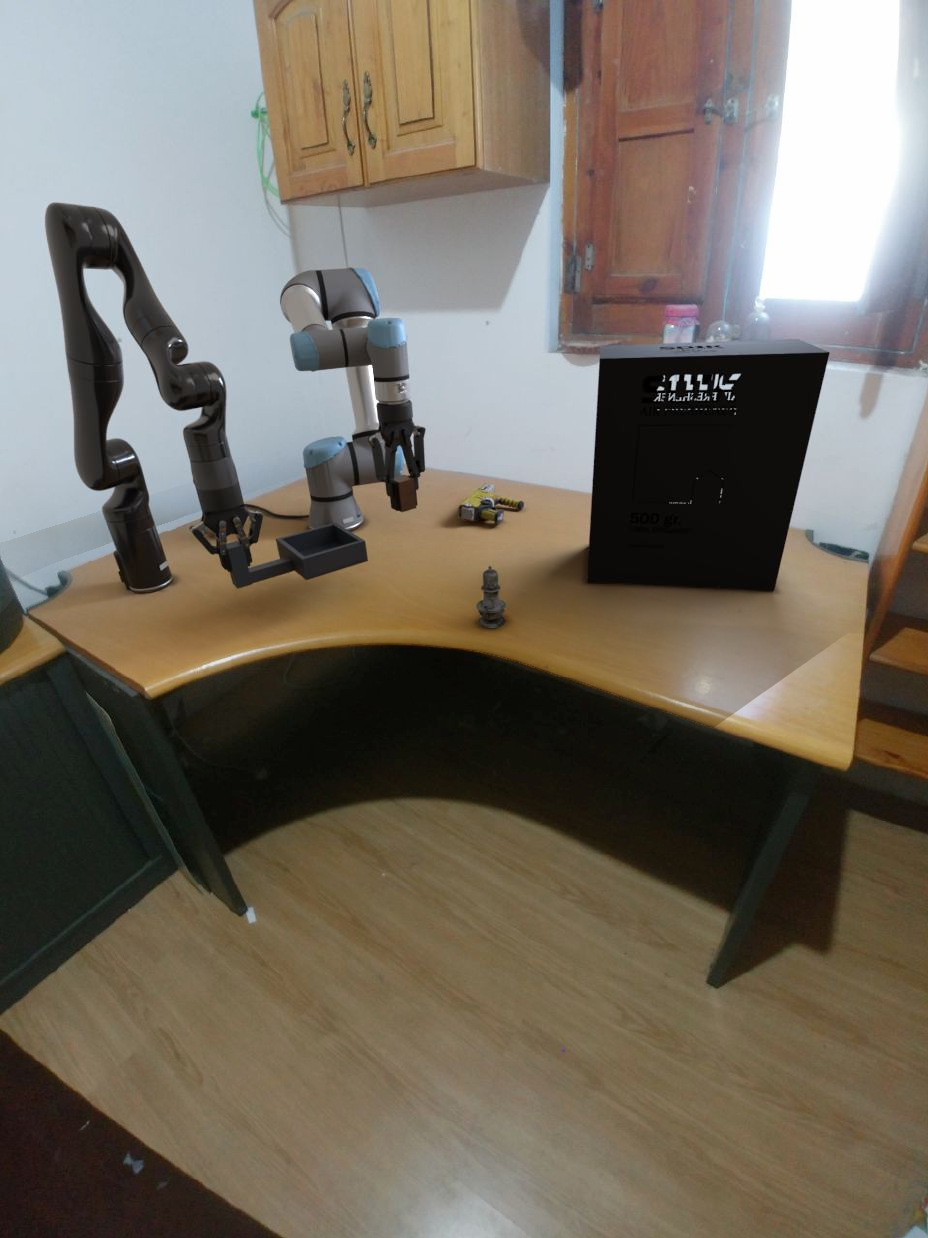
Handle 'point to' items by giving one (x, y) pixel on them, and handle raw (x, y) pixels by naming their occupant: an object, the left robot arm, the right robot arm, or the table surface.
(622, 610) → the table surface
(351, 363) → the right robot arm
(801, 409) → the cardboard box
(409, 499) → the walnut block
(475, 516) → the toy gun
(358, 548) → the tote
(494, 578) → the grey tall tiered piece
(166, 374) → the left robot arm
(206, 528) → the eyeball
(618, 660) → the table surface
